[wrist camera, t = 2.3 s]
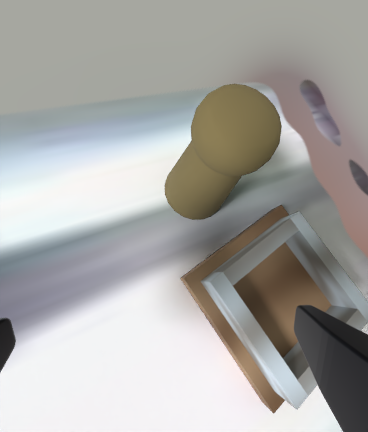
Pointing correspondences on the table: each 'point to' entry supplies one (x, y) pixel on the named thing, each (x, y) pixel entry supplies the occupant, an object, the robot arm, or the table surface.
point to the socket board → (273, 301)
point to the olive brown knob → (222, 149)
